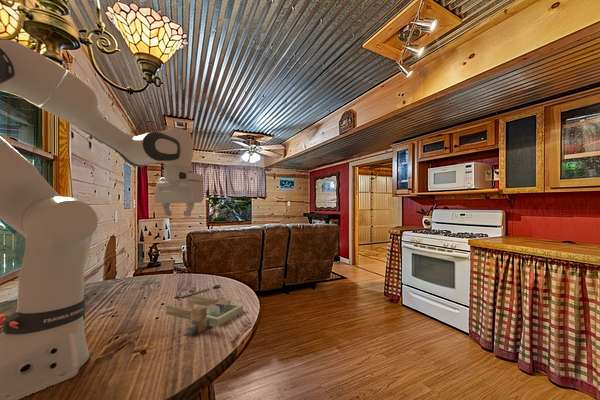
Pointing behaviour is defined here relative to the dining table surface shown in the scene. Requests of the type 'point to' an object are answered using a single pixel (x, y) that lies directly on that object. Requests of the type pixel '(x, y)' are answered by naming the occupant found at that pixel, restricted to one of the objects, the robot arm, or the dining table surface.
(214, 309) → the tan cube
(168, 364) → the dining table surface
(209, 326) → the pad
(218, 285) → the claw hammer
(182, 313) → the slot rails
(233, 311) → the open picture frame
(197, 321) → the wooden block with peg
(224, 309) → the beige cube
